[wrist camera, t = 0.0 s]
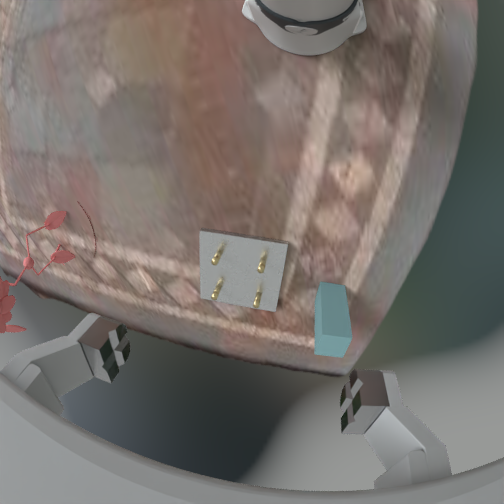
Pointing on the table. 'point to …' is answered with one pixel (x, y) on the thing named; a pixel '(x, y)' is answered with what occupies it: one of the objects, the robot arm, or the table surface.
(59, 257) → the figurine
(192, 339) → the table surface
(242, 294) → the post plate
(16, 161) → the table surface
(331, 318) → the teal block
